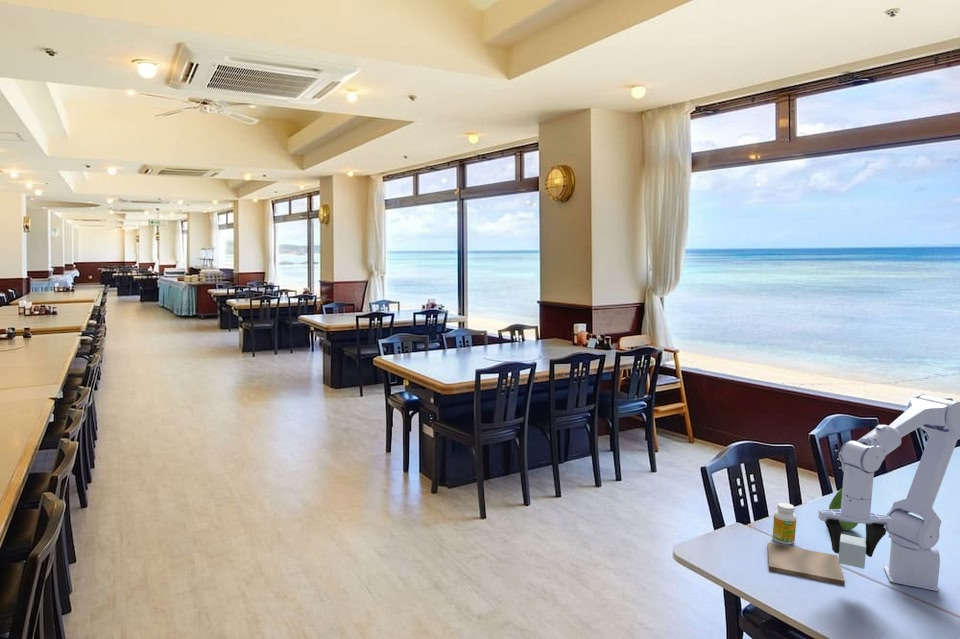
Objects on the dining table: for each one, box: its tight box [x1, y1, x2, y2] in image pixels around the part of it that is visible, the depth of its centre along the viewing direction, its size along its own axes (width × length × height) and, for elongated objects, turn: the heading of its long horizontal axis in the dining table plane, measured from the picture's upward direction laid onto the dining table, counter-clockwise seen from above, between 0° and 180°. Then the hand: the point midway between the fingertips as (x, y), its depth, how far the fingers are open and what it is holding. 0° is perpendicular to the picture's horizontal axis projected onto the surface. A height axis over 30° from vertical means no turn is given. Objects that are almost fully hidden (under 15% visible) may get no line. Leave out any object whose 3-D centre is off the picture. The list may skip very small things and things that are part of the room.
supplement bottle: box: [772, 502, 797, 545], centre depth 168 cm, size 5×5×10 cm
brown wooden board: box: [767, 542, 846, 586], centre depth 155 cm, size 16×14×1 cm
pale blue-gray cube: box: [838, 533, 867, 570], centre depth 143 cm, size 5×5×5 cm
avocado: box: [828, 487, 859, 531], centre depth 177 cm, size 8×8×12 cm
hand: (851, 553), depth 143 cm, fingers closed on pale blue-gray cube, 6 cm apart
